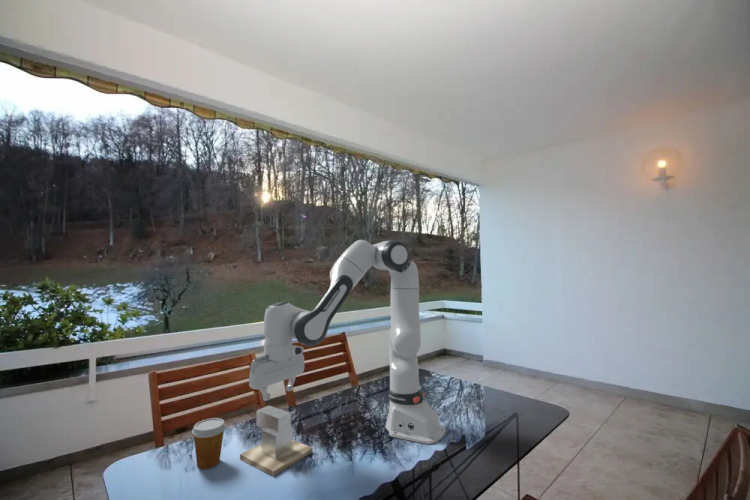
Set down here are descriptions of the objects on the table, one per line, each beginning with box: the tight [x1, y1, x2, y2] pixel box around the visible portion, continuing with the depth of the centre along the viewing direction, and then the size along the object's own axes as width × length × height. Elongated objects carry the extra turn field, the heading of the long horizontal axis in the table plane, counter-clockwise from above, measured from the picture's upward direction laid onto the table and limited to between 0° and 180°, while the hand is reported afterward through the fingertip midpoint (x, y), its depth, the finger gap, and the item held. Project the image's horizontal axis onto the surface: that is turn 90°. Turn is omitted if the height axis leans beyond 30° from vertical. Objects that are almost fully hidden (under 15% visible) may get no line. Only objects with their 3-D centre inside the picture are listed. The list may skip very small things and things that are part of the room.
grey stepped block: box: [256, 405, 294, 459], centre depth 114 cm, size 11×7×12 cm, turn 55°
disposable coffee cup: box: [191, 417, 227, 470], centre depth 108 cm, size 10×10×12 cm
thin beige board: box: [239, 439, 313, 477], centre depth 112 cm, size 16×16×6 cm
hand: (278, 394), depth 113 cm, fingers open, 8 cm apart
